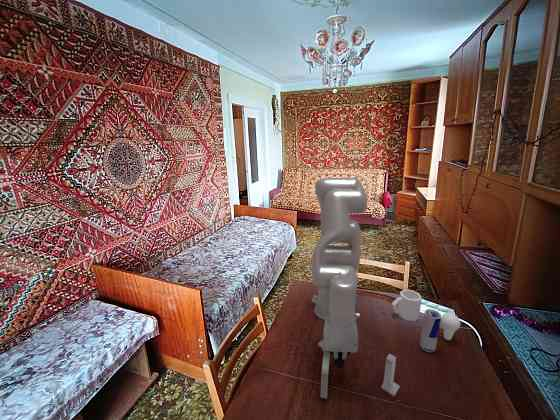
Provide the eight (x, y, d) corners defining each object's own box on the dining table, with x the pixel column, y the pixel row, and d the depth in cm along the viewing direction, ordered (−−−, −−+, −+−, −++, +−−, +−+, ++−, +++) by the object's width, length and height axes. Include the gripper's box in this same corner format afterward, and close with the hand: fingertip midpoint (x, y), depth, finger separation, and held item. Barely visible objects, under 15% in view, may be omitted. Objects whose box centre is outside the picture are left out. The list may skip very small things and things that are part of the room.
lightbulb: (454, 335, 101) (458, 311, 98) (459, 347, 95) (464, 321, 92) (436, 332, 103) (440, 308, 100) (440, 343, 97) (444, 318, 94)
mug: (409, 307, 118) (412, 288, 115) (423, 319, 110) (426, 299, 107) (386, 311, 116) (388, 291, 113) (398, 324, 107) (400, 303, 105)
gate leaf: (325, 347, 95) (326, 326, 92) (330, 348, 94) (331, 327, 92) (320, 397, 76) (321, 373, 74) (326, 398, 76) (327, 374, 74)
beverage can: (437, 354, 92) (443, 318, 88) (421, 352, 93) (427, 317, 89) (432, 343, 97) (438, 309, 93) (417, 342, 98) (422, 307, 94)
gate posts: (317, 345, 97) (318, 320, 94) (324, 339, 100) (324, 315, 97) (394, 396, 77) (398, 367, 74) (399, 387, 80) (403, 359, 77)
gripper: (363, 309, 80) (359, 357, 85) (315, 308, 81) (314, 355, 86) (370, 326, 73) (365, 377, 78) (317, 324, 74) (315, 375, 79)
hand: (338, 365), depth 82 cm, fingers closed
